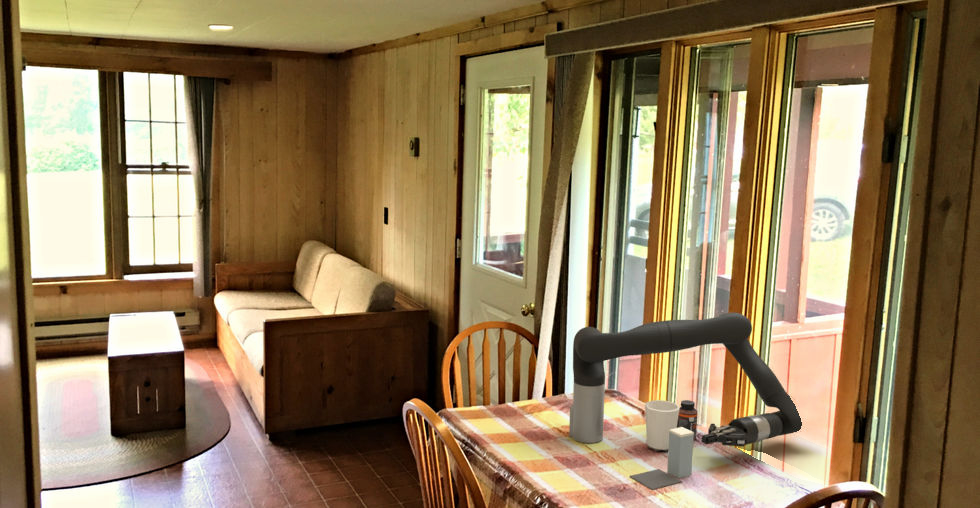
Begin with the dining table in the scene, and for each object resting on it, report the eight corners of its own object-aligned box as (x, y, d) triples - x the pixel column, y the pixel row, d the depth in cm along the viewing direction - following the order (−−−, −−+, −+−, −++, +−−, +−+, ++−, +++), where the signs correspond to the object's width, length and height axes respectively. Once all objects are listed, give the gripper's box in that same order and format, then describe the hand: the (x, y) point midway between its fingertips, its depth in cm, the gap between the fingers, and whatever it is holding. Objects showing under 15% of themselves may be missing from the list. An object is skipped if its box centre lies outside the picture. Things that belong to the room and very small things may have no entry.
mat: (629, 476, 216) (629, 475, 216) (658, 469, 221) (658, 468, 221) (652, 489, 208) (652, 488, 208) (681, 482, 213) (681, 481, 213)
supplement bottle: (696, 442, 241) (698, 406, 239) (675, 441, 242) (677, 404, 240) (695, 435, 247) (697, 399, 245) (675, 433, 248) (677, 398, 246)
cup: (657, 456, 230) (659, 413, 228) (635, 444, 239) (637, 402, 237) (684, 450, 235) (687, 408, 233) (662, 439, 243) (664, 398, 241)
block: (667, 472, 219) (669, 429, 218) (679, 469, 221) (682, 426, 220) (678, 478, 215) (681, 435, 214) (691, 475, 218) (693, 432, 216)
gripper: (732, 410, 235) (687, 419, 227) (768, 424, 224) (722, 434, 215) (731, 434, 236) (685, 445, 228) (766, 450, 225) (720, 461, 216)
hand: (703, 440), depth 221 cm, fingers closed
